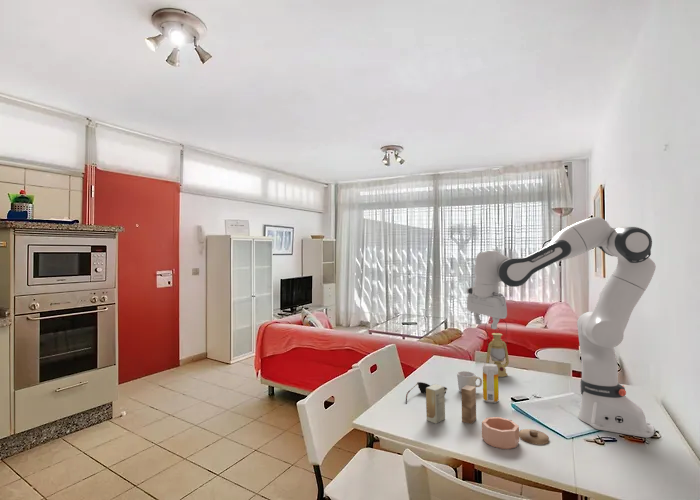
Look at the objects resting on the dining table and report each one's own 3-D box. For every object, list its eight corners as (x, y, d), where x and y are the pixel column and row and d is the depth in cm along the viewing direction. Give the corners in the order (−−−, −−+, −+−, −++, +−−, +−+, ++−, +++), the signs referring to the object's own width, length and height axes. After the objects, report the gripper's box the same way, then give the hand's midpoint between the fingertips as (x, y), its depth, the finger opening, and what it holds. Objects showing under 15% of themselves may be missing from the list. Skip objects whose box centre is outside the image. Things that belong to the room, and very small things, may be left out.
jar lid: (551, 437, 126) (551, 430, 126) (545, 448, 119) (545, 440, 119) (522, 430, 132) (522, 423, 132) (515, 440, 125) (515, 432, 125)
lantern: (490, 377, 188) (489, 317, 189) (482, 371, 198) (481, 314, 199) (514, 377, 189) (512, 317, 189) (505, 371, 199) (504, 314, 199)
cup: (479, 389, 172) (479, 371, 173) (484, 395, 164) (484, 376, 165) (455, 388, 173) (455, 370, 174) (459, 394, 166) (458, 376, 166)
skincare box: (435, 415, 144) (435, 383, 144) (445, 419, 141) (445, 386, 141) (425, 420, 140) (425, 387, 140) (435, 424, 137) (435, 390, 137)
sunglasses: (447, 398, 162) (447, 387, 162) (434, 413, 149) (433, 401, 149) (417, 392, 170) (417, 381, 170) (402, 406, 157) (401, 394, 156)
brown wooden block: (476, 419, 140) (475, 386, 141) (471, 424, 136) (470, 390, 137) (467, 416, 143) (466, 384, 143) (461, 421, 139) (461, 388, 139)
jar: (522, 439, 125) (521, 422, 125) (512, 452, 116) (512, 434, 116) (489, 430, 131) (489, 414, 131) (478, 442, 123) (478, 425, 123)
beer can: (497, 398, 160) (497, 363, 161) (499, 404, 154) (498, 367, 155) (482, 397, 162) (482, 362, 162) (483, 402, 156) (483, 366, 156)
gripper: (511, 293, 139) (511, 331, 139) (477, 288, 159) (477, 321, 159) (497, 294, 137) (496, 332, 137) (464, 288, 157) (464, 322, 157)
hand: (485, 326), depth 148 cm, fingers open, 8 cm apart
